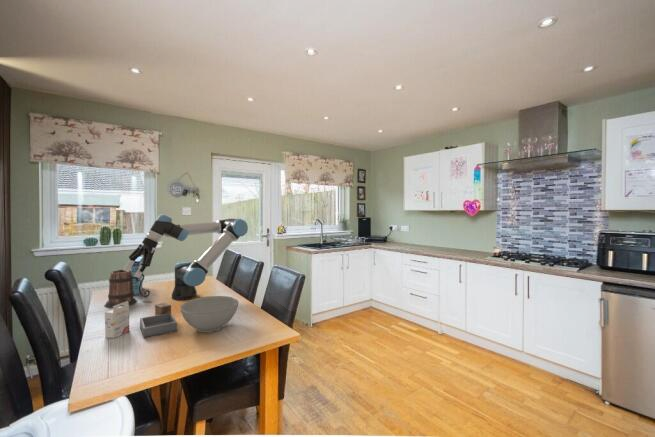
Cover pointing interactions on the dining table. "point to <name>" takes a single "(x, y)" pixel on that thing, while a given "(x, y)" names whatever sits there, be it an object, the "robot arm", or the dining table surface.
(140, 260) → the gum box
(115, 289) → the tankard
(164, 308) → the walnut block
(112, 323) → the ink cartridge box
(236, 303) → the decorative bowl
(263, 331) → the dining table surface
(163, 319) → the bin
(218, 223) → the robot arm
